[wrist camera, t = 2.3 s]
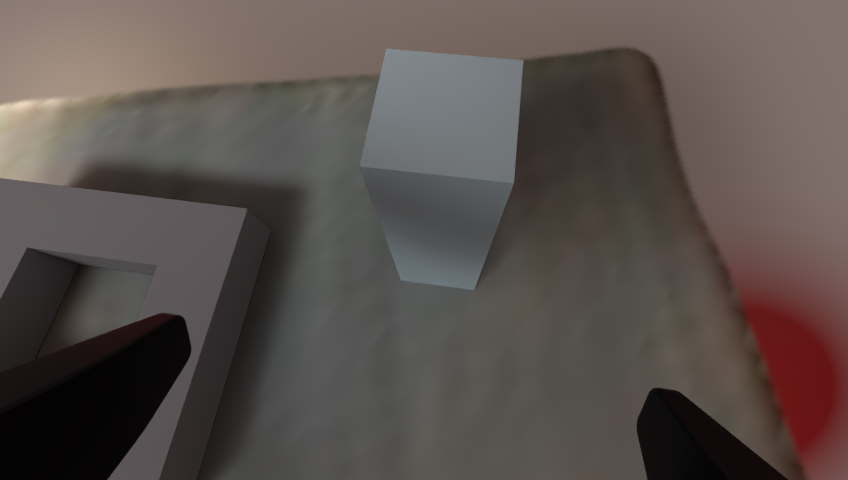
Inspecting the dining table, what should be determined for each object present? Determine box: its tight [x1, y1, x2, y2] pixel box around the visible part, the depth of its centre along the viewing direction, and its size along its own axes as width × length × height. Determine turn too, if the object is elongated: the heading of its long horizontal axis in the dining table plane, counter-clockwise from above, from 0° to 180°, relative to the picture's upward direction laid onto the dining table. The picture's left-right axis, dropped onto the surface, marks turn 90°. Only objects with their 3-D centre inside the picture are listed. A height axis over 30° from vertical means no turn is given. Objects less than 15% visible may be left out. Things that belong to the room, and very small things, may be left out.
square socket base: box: [0, 178, 271, 480], centre depth 20 cm, size 14×14×3 cm
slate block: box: [359, 49, 523, 290], centre depth 16 cm, size 4×4×12 cm
